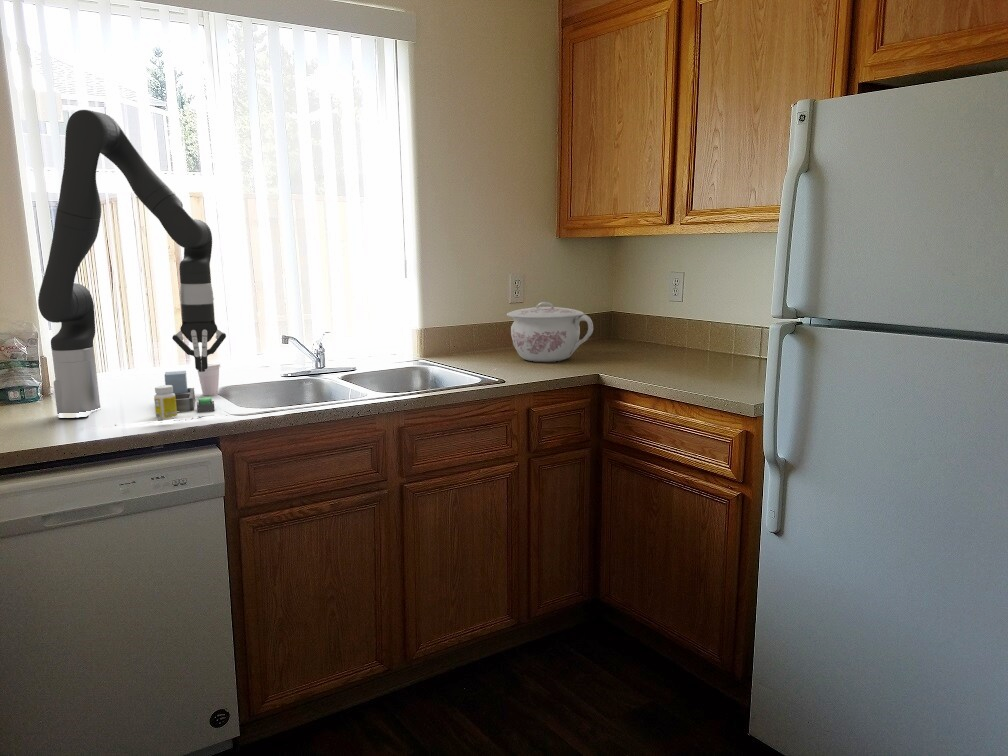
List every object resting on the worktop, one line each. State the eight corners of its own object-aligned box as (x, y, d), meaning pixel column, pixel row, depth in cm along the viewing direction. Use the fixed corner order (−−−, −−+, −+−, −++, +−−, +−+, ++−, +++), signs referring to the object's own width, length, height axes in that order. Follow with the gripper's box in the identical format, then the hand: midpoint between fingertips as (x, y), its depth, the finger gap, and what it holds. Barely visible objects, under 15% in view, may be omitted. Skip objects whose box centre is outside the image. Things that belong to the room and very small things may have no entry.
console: (197, 417, 189) (196, 405, 188) (198, 413, 193) (197, 402, 192) (214, 415, 190) (213, 403, 190) (214, 412, 194) (213, 400, 193)
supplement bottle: (180, 417, 189) (177, 384, 187) (173, 422, 184) (170, 388, 183) (161, 418, 188) (157, 384, 187) (153, 422, 184) (149, 388, 182)
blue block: (167, 405, 198) (164, 375, 196) (168, 401, 202) (165, 372, 201) (188, 403, 200) (185, 373, 198) (188, 399, 204) (185, 370, 203)
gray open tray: (158, 418, 188) (156, 401, 188) (162, 405, 204) (160, 389, 203) (194, 415, 191) (193, 398, 190) (195, 402, 207) (194, 387, 206)
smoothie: (215, 395, 217) (211, 346, 214) (227, 397, 213) (223, 348, 210) (194, 398, 212) (189, 349, 209) (206, 401, 208) (201, 350, 205)
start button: (199, 416, 189) (198, 400, 189) (199, 413, 192) (198, 397, 192) (213, 415, 191) (211, 399, 190) (213, 412, 193) (211, 396, 193)
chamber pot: (494, 357, 278) (493, 301, 274) (560, 352, 289) (560, 297, 286) (529, 368, 253) (528, 306, 249) (599, 361, 264) (599, 302, 261)
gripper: (167, 303, 181) (172, 375, 184) (226, 302, 186) (230, 372, 189) (168, 301, 188) (173, 370, 191) (225, 300, 192) (229, 367, 196)
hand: (202, 371), depth 190 cm, fingers closed
